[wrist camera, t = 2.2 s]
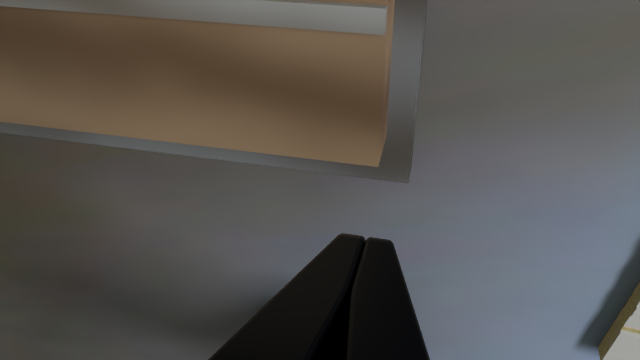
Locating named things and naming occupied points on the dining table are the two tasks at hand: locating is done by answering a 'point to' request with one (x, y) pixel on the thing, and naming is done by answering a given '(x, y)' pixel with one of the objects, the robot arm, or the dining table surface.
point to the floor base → (220, 79)
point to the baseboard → (624, 332)
